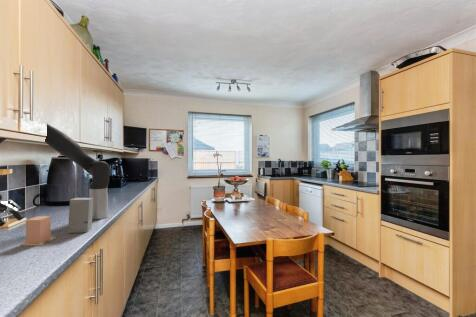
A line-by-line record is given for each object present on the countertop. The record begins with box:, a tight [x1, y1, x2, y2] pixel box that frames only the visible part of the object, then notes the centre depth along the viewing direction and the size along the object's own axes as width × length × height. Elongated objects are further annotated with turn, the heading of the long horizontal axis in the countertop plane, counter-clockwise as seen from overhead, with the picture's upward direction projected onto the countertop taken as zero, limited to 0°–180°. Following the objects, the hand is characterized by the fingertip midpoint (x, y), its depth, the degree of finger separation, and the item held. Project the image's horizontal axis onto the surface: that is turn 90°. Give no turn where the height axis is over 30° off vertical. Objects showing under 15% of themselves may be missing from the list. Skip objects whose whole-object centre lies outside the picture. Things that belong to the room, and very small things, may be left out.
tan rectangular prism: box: [25, 215, 52, 243], centre depth 98 cm, size 6×6×10 cm
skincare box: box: [67, 197, 93, 234], centre depth 112 cm, size 8×7×16 cm
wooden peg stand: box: [20, 236, 56, 247], centre depth 98 cm, size 8×8×8 cm
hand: (12, 221), depth 96 cm, fingers open, 8 cm apart
